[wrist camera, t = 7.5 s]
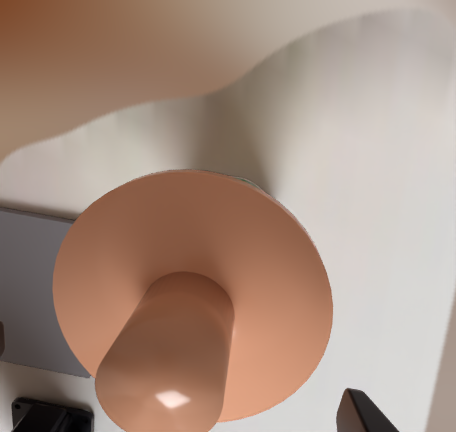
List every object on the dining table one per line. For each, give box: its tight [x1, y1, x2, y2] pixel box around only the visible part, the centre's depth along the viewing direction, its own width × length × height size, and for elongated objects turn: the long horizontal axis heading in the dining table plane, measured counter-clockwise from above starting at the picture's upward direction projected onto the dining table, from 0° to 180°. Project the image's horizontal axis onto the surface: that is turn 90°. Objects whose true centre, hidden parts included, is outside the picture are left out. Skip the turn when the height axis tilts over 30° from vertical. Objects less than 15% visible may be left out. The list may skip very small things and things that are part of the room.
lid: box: [52, 169, 333, 432], centre depth 10 cm, size 9×9×4 cm
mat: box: [0, 207, 91, 378], centre depth 24 cm, size 12×12×1 cm
